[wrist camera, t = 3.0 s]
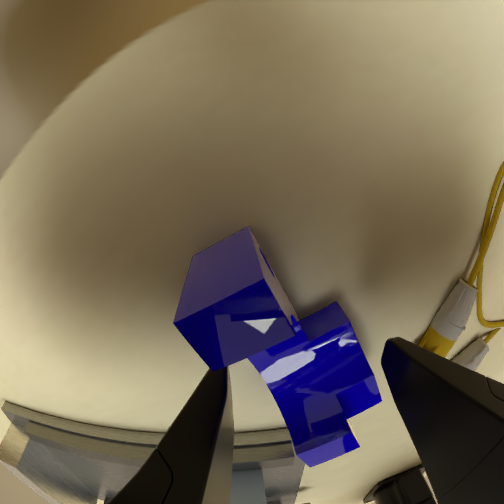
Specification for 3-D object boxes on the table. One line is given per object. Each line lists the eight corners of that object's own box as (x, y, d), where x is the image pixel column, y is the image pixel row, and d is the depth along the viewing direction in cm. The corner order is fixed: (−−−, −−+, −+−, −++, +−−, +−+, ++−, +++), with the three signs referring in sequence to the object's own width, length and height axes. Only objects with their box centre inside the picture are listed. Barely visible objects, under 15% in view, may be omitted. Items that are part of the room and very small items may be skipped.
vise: (291, 501, 17) (299, 539, 13) (86, 489, 16) (78, 521, 12) (307, 424, 12) (327, 494, 8) (5, 401, 11) (-19, 443, 7)
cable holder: (360, 363, 11) (396, 427, 8) (291, 396, 12) (310, 467, 8) (290, 202, 9) (336, 239, 5) (193, 254, 9) (172, 323, 5)
